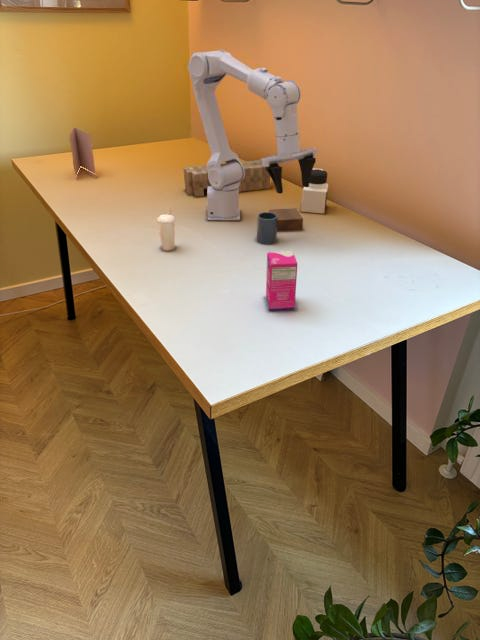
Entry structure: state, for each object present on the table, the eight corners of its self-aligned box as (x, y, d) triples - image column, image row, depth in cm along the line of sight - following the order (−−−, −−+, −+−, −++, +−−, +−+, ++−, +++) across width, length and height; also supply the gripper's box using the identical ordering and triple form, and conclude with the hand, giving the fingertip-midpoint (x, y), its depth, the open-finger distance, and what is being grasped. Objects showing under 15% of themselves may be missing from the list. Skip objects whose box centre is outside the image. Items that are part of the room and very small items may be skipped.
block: (274, 231, 146) (275, 220, 144) (268, 220, 152) (269, 209, 150) (302, 230, 147) (303, 218, 145) (295, 219, 154) (296, 208, 152)
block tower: (191, 200, 168) (274, 188, 175) (189, 174, 163) (275, 163, 171) (185, 192, 174) (266, 180, 182) (183, 167, 169) (266, 156, 177)
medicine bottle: (324, 214, 157) (328, 175, 151) (301, 212, 158) (304, 173, 152) (326, 205, 163) (330, 167, 156) (303, 203, 164) (306, 165, 158)
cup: (257, 244, 139) (257, 219, 135) (256, 235, 143) (257, 211, 140) (276, 244, 139) (278, 219, 135) (275, 236, 143) (276, 212, 140)
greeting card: (78, 170, 189) (71, 127, 181) (99, 169, 190) (93, 127, 182) (73, 180, 180) (66, 135, 172) (95, 179, 181) (89, 135, 172)
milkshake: (181, 244, 138) (179, 208, 133) (172, 253, 134) (170, 216, 128) (165, 242, 139) (163, 206, 134) (156, 250, 135) (153, 214, 130)
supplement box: (264, 297, 116) (266, 251, 110) (290, 296, 116) (294, 250, 110) (267, 311, 111) (270, 263, 105) (295, 310, 112) (299, 263, 105)
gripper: (268, 141, 123) (274, 198, 129) (321, 130, 127) (325, 185, 133) (256, 139, 129) (262, 194, 135) (307, 129, 133) (311, 182, 139)
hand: (292, 189), depth 134 cm, fingers open, 7 cm apart
